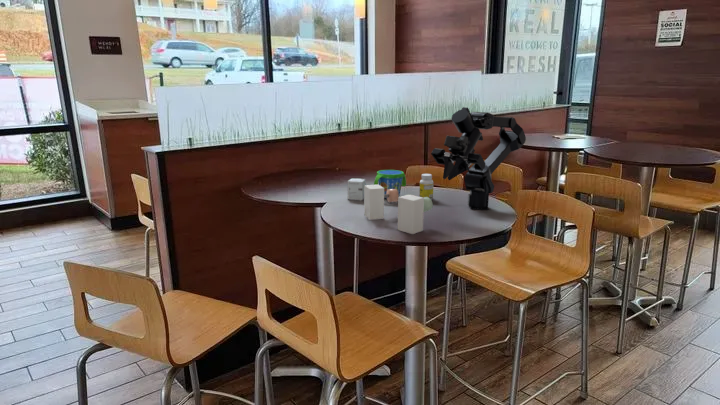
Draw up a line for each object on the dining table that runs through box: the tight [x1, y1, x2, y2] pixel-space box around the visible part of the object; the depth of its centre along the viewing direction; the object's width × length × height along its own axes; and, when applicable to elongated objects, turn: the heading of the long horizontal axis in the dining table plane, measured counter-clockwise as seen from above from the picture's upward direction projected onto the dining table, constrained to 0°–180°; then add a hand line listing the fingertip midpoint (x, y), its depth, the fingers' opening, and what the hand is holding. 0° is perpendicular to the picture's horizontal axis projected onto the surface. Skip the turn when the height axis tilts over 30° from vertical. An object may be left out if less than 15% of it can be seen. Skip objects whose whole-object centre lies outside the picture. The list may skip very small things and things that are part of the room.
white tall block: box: [363, 183, 385, 221], centre depth 165 cm, size 5×6×10 cm
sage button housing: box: [397, 194, 425, 235], centre depth 150 cm, size 5×6×10 cm
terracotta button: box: [384, 189, 400, 203], centre depth 166 cm, size 6×4×4 cm
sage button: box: [423, 197, 433, 213], centre depth 153 cm, size 6×4×4 cm
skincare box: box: [347, 178, 367, 201], centre depth 190 cm, size 6×6×7 cm
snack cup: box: [373, 169, 407, 200], centre depth 191 cm, size 16×10×10 cm
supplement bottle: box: [418, 173, 434, 200], centre depth 189 cm, size 5×5×10 cm
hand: (446, 179), depth 160 cm, fingers closed
